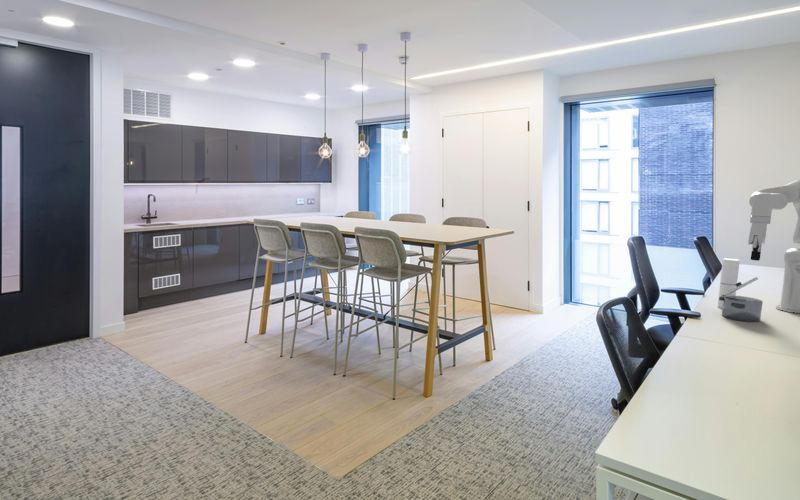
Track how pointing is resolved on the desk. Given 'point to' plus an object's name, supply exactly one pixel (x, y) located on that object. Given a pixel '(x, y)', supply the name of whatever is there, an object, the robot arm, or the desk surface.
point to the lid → (740, 286)
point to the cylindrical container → (728, 278)
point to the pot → (741, 308)
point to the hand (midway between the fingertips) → (755, 260)
